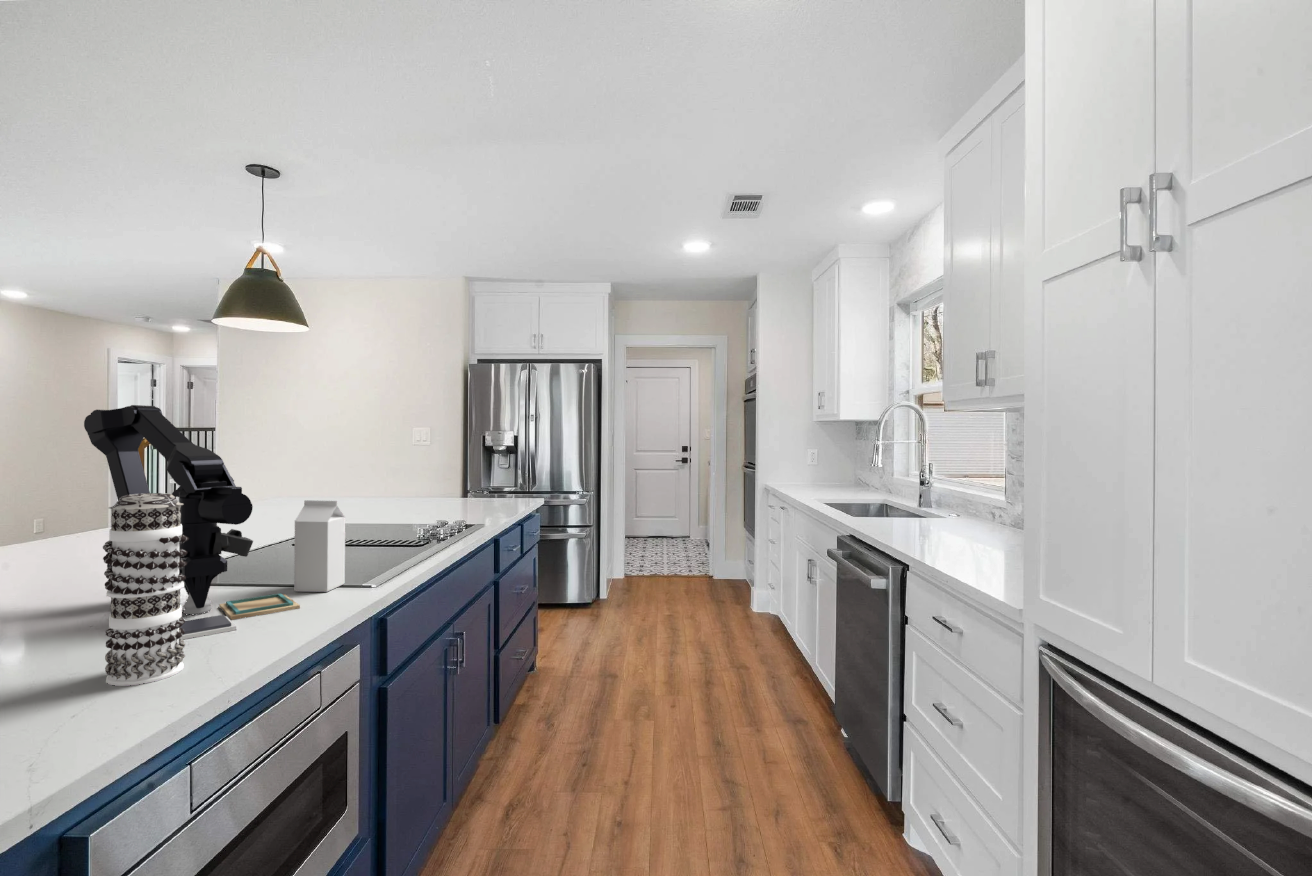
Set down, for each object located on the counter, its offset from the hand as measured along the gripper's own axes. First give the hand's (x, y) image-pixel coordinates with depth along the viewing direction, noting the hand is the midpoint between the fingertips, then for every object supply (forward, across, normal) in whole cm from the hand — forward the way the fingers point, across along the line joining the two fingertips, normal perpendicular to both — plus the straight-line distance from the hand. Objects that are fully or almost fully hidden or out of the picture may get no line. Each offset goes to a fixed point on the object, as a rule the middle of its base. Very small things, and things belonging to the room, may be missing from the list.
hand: (197, 604), depth 115 cm
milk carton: (+2, +4, -22) cm, 22 cm away
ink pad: (+1, -13, +1) cm, 13 cm away
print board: (+1, -4, -9) cm, 10 cm away
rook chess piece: (+2, 0, 0) cm, 2 cm away
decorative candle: (+2, -31, +10) cm, 33 cm away
